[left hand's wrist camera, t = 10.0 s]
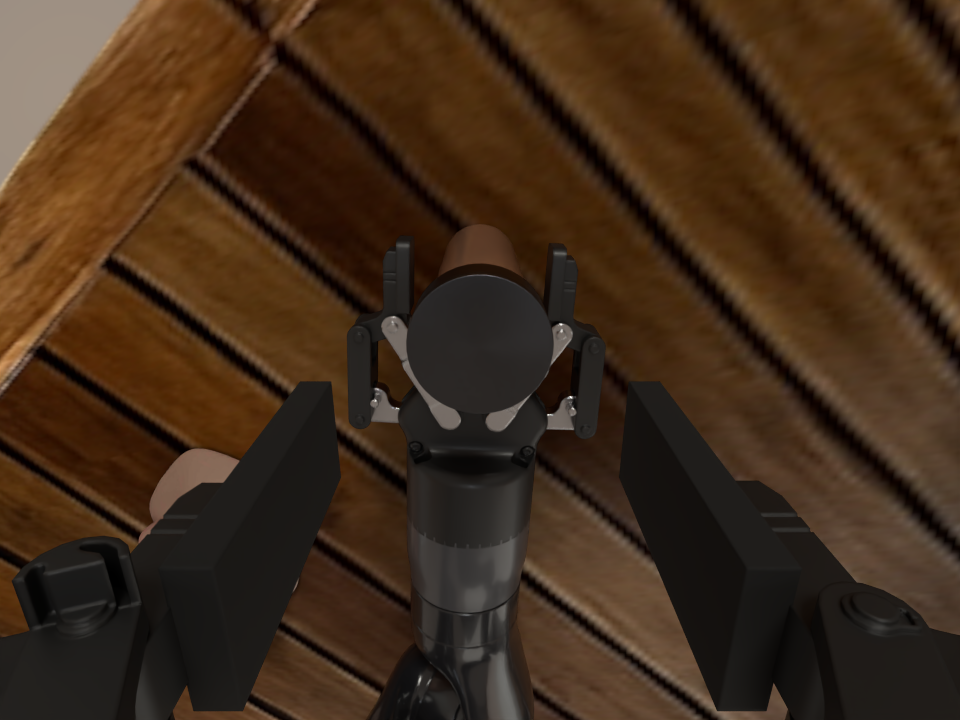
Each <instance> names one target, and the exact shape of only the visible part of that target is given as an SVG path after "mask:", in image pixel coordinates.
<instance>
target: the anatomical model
mask: <svg viewBox="0 0 960 720" xmlns="http://www.w3.org/2000/svg"><path fill="white" fill-rule="evenodd" d="M238 463H239V460H237V459H234V458H232V457H230V456H227V455H224V454H221V453H218V452H216V451H212V450H208V449H192V450H189V451H187V452H185V453H183V454H182V455H181V456H180V457H179V458H178V459H177V460H176V461H175V462H174V463H173V464H172V465H171V467H170V468H169V469H168V471H167V472H166V473H165V474H164V476H163V477H162V478H161V480H160V481H159V483H158V485H157V487H156V489H155V491H154V493H153V495H152V498H151V501H150V513H151V516H152V519H153V521H154V523H152V524H151V525H149V526H148V527H147V528H146V529H144V531H143V532H142V533H141V535H140V537H139V543H140V542H141V541H142V540H143V539H144V537H145V536H146V535H147V534H150V532H151V531H150V530H151V529H152V528H153V527H154V526H155V524H156V523H157V522H158V521H159V520H160V519H163V515H164V514H165V513H166V512H167V510H168V509H169V508H170V507H171V506H172V505H173V503H174V502H175V501H176V500H177V499H178V498H179V497H180V496H182V495H183V494H185V493H187V492H188V491H190V490H191V489H193V488H194V487H196V486H197V485H199V484H200V483H223V482H224V481H225V480H226V478H227V477H228V476H229V474H230V473H231V472H232V471H233V469H234V468H235V467H236V465H237V464H238ZM298 580H299V578H298ZM297 584H298V581H297V583H296V585H295V588H296V586H297ZM295 588H294V590H295ZM294 590H293V591H294Z"/></svg>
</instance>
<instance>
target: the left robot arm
mask: <svg viewBox="0 0 960 720" xmlns="http://www.w3.org/2000/svg"><path fill="white" fill-rule="evenodd" d="M340 478H341V474H340V464H339V454H338V444H337V435H336V425H335V415H334V405H333V395H332V385H331V382H300V383H299V384H298V385H297V387H296V388H295V389H294V390H293V392H292V393H291V394H290V396H289V397H288V398H287V400H286V401H285V402H284V404H283V405H282V406H281V408H280V409H279V410H278V411H277V413H276V414H275V415H274V417H273V418H272V419H271V421H270V422H269V423H268V425H267V426H266V427H265V429H264V430H263V431H262V432H261V434H260V435H259V436H258V438H257V439H256V440H255V442H254V443H253V444H252V446H251V447H250V448H249V450H248V451H247V452H246V453H245V455H244V456H243V457H242V459H241V460H240V461H239V463H238V464H237V465H236V467H235V468H234V469H233V471H232V472H231V473H230V474H229V476H228V477H227V478H226V480H225V481H224V482H223V483H200V484H199V485H197V486H196V487H194V488H193V489H191V490H190V491H188V492H187V493H185V494H183V495H182V496H180V497H179V498H178V499H177V500H176V501H175V502H174V503H173V505H172V506H171V507H170V508H169V509H168V510H167V512H166V513H165V514H164V515H163V519H160V520H159V521H158V522H157V523H156V524H155V526H154V527H153V528H152V529H151V530H150V531H151V532H150V534H147V535H146V536H145V537H144V539H143V540H142V541H141V542H140V543H139V544H138V546H137V547H136V548H135V549H134V550H133V551H132V553H131V554H130V551H129V547H128V545H127V544H126V543H125V542H123V541H122V540H121V539H119V538H114V537H108V536H97V537H88V538H82V539H79V540H75V541H72V542H68V543H65V544H62V545H60V546H58V547H56V548H53V549H51V550H49V551H47V552H45V553H43V554H41V555H39V556H38V557H37V558H35V559H34V560H32V561H31V562H30V563H28V564H27V565H25V566H24V567H23V568H22V569H21V570H20V572H19V573H18V574H17V575H16V576H15V578H14V579H13V580H12V583H13V586H14V588H15V591H16V594H17V597H18V599H19V602H20V605H21V608H22V610H23V613H24V616H25V618H26V621H27V624H28V627H29V629H30V631H27V632H24V633H20V634H16V635H11V636H7V637H3V638H0V720H175V718H174V715H173V709H174V707H175V705H176V704H177V702H178V700H179V698H180V696H181V694H182V692H183V691H184V689H185V687H186V685H187V687H188V691H189V695H190V699H191V703H192V707H193V711H243V709H244V707H245V705H246V702H247V700H248V698H249V695H250V693H251V690H252V688H253V686H254V683H255V681H256V678H257V676H258V674H259V671H260V669H261V667H262V664H263V662H264V659H265V657H266V655H267V652H268V650H269V647H270V645H271V643H272V640H273V638H274V636H275V633H276V631H277V628H278V626H279V624H280V621H281V619H282V616H283V614H284V612H285V609H286V607H287V605H288V602H289V600H290V597H291V595H292V593H293V590H294V588H295V585H296V583H297V581H298V578H299V576H300V574H301V571H302V569H303V566H304V564H305V562H306V559H307V557H308V554H309V552H310V550H311V547H312V545H313V543H314V540H315V538H316V535H317V533H318V531H319V528H320V526H321V523H322V521H323V519H324V516H325V514H326V512H327V509H328V507H329V504H330V502H331V500H332V497H333V495H334V492H335V490H336V488H337V485H338V483H339V481H340ZM619 478H620V481H621V483H622V485H623V488H624V490H625V492H626V495H627V497H628V500H629V502H630V504H631V507H632V509H633V512H634V514H635V516H636V519H637V521H638V523H639V526H640V528H641V531H642V533H643V535H644V538H645V540H646V543H647V545H648V547H649V550H650V552H651V554H652V557H653V559H654V562H655V564H656V566H657V569H658V571H659V574H660V576H661V578H662V581H663V583H664V585H665V588H666V590H667V593H668V595H669V597H670V600H671V602H672V605H673V607H674V609H675V612H676V614H677V616H678V619H679V621H680V624H681V626H682V628H683V631H684V633H685V636H686V638H687V640H688V643H689V645H690V647H691V650H692V652H693V655H694V657H695V659H696V662H697V664H698V667H699V669H700V671H701V674H702V676H703V678H704V681H705V683H706V686H707V688H708V690H709V693H710V695H711V698H712V700H713V702H714V705H715V707H716V709H717V711H767V707H768V703H769V699H770V695H771V691H772V687H773V683H774V684H775V686H776V688H777V690H778V691H779V693H780V695H781V697H782V699H783V701H784V702H785V704H786V706H787V708H788V711H787V715H786V718H785V720H960V635H955V634H951V633H947V632H942V631H938V630H935V629H931V628H929V627H928V625H927V624H926V622H925V621H924V620H923V618H922V617H921V615H920V614H919V613H917V612H916V611H915V610H914V609H912V608H911V607H910V606H909V605H908V604H906V603H905V602H904V601H902V600H901V599H899V598H897V597H895V596H893V595H891V594H889V593H888V592H886V591H884V590H881V589H878V588H875V587H872V586H869V585H866V584H863V583H857V582H856V581H855V580H854V579H853V578H852V576H851V575H850V574H849V573H848V572H847V571H846V570H845V568H844V567H843V566H842V565H841V564H840V563H839V561H838V560H837V559H836V558H835V557H834V556H833V554H832V553H831V552H830V551H829V550H828V549H827V547H826V546H825V545H824V544H823V543H822V542H821V541H820V539H819V538H818V537H817V536H816V535H815V534H814V532H810V528H809V527H808V525H807V524H806V523H805V522H804V521H803V520H802V518H801V517H798V516H797V513H796V512H795V510H794V509H793V508H792V507H791V506H790V505H789V503H788V502H787V501H786V500H785V499H784V498H783V496H781V495H780V494H778V493H777V492H775V491H774V490H772V489H770V488H769V487H767V486H766V485H764V484H763V483H761V482H760V481H735V480H734V478H733V477H732V476H731V474H730V473H729V472H728V471H727V469H726V468H725V467H724V465H723V464H722V463H721V461H720V460H719V459H718V457H717V456H716V455H715V453H714V452H713V451H712V450H711V448H710V447H709V446H708V444H707V443H706V442H705V440H704V439H703V438H702V436H701V435H700V434H699V432H698V431H697V430H696V429H695V427H694V426H693V425H692V423H691V422H690V421H689V419H688V418H687V417H686V415H685V414H684V413H683V411H682V410H681V409H680V408H679V406H678V405H677V404H676V402H675V401H674V400H673V398H672V397H671V396H670V394H669V393H668V392H667V390H666V389H665V388H664V387H663V385H662V384H661V383H660V382H629V385H628V395H627V405H626V415H625V425H624V435H623V444H622V454H621V464H620V474H619Z"/></svg>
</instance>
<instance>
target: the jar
mask: <svg viewBox="0 0 960 720" xmlns="http://www.w3.org/2000/svg"><path fill="white" fill-rule="evenodd" d="M476 263H483V264H492V265H497V266H501V267H504V268H506V269H509V270H511V271H513V272H515V273H516V274H518V275H520V276H521V277H522V278H523V276H522V273H521V270H520V267H519V264H518V261H517V258H516V254H515V251H514V248H513V246H512V244H511V242H510V240H509V239H508V237H507V236H506V235H505V234H504V233H503V232H501V231H500V230H498V229H497V228H494V227H492V226H489V225H483V224H477V225H471V226H468V227H465V228H463V229H462V230H460V231H459V232H457V233H456V234H455V235H454V236H453V238H452V239H451V240H450V242H449V244H448V246H447V248H446V251H445V254H444V257H443V261H442V264H441V267H440V270H439V273H438V276H437V278H438V277H439V276H440V275H442V274H444V273H445V272H447V271H449V270H451V269H454V268H456V267H459V266H463V265H467V264H476Z"/></svg>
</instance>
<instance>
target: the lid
mask: <svg viewBox="0 0 960 720" xmlns="http://www.w3.org/2000/svg"><path fill="white" fill-rule="evenodd" d="M553 350H554V338H553V331H552V327H551V323H550V321H549V318H548V315H547V313H546V310H545V308H544V305H543V303H542V301H541V299H540V297H539V295H538V294H537V292H536V291H535V290H534V288H533V287H532V286H531V285H530V284H529V283H528V282H527V281H526V280H525V279H523V278H522V277H521V276H520V275H518V274H516V273H515V272H513V271H511V270H509V269H506V268H504V267H501V266H497V265H492V264H483V263H476V264H467V265H463V266H459V267H456V268H454V269H451V270H449V271H447V272H445V273H444V274H442V275H440V276H439V277H438V278H436V279H435V280H434V281H433V282H432V283H431V284H430V285H429V286H428V287H427V288H426V290H425V291H424V292H423V294H422V295H421V297H420V299H419V301H418V303H417V305H416V308H415V310H414V313H413V315H412V318H411V321H410V323H409V327H408V331H407V338H406V351H407V357H408V361H409V364H410V368H411V370H412V372H413V374H414V376H415V378H416V379H417V381H418V383H419V384H420V385H421V386H422V388H423V389H424V390H425V391H426V392H427V393H428V394H429V395H430V396H431V397H433V398H434V399H435V400H437V401H438V402H440V403H442V404H443V405H445V406H447V407H450V408H452V409H455V410H458V411H462V412H466V413H474V414H486V413H494V412H498V411H502V410H505V409H508V408H511V407H513V406H515V405H517V404H519V403H520V402H522V401H523V400H525V399H526V398H527V397H528V396H530V395H531V394H532V393H533V392H534V391H535V390H536V389H537V388H538V387H539V385H540V384H541V382H542V381H543V380H544V378H545V376H546V374H547V372H548V370H549V367H550V364H551V362H552V357H553Z"/></svg>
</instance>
